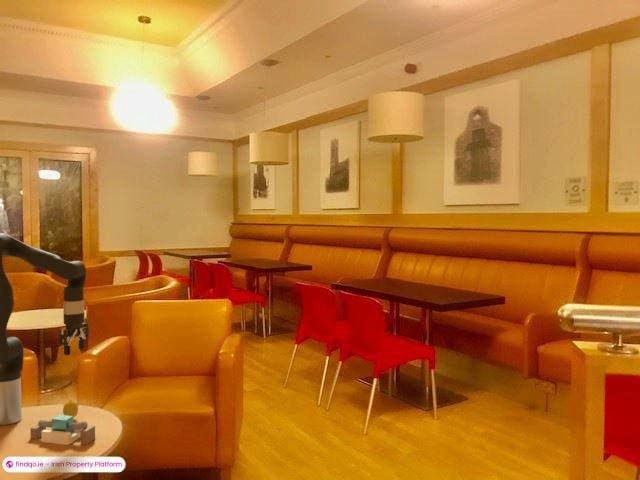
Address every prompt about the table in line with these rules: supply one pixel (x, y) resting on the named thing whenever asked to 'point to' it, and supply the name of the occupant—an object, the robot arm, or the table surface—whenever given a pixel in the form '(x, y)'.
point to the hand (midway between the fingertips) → (74, 352)
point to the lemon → (70, 408)
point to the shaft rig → (63, 433)
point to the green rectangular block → (62, 423)
